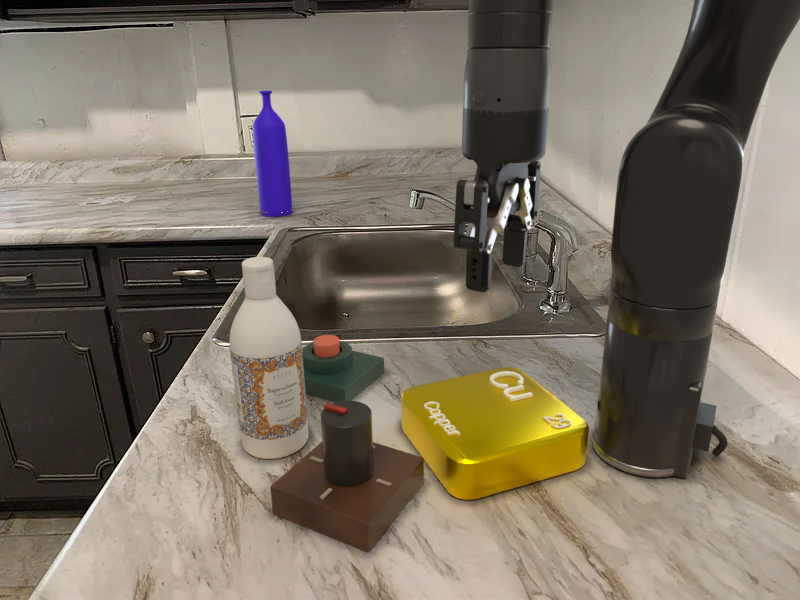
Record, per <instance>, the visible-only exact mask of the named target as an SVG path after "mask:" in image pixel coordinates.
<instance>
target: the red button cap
mask: <svg viewBox="0 0 800 600" xmlns="http://www.w3.org/2000/svg"><path fill="white" fill-rule="evenodd" d="M340 341H341V340H340V338H339V337H338V336H337V335H333V334H323V335H318V336H316V337H315V338H313V340H312V342H313V345H314V355H315V356H319V357H332V356H335V355H338V354H339V353H340Z"/></svg>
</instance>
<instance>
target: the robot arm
mask: <svg viewBox="0 0 800 600" xmlns="http://www.w3.org/2000/svg"><path fill="white" fill-rule="evenodd" d="M553 13H554V0H469V2H468V16H467V49H466V59H465V66H464V71H463V86H462V87H463V92H462V93H463V94H462V97H463V98H462V124H461V125H462V126H461V130H462V131H461V154H462V157H464V158H465V159H467V160H470V161H473V162H474V163H475V165H476V168H475V174H474V178H473V180H467V179H459V180H458V181H457V183H456V188H455V189H456V190H455V205H454V206H455V208H454V225H453V226H454V227H453V247H454V249H460V250H462V251H465V252H466V265H465V287H466V289H467V290H469V291H474V292H479V293H486V292H487V291H489V290H490V289H491V287H492V269H493V268H492V266H493V252H492V251H493V249H494V248H493V247H494V246H495V241H496V239H497V237H498V234H499V233H501V232H503V246H502V263H503V264H504V265H505V266H510V267H517V268H520V267H522V266H524V265H525V263H526V255H527V242H528V241H527V240H528V230H530V229H531V226H532V223H533V222H532V220H533V221H534V220H537V219H538V216H539V204H540V202H539V201H540V189H541V188H540V186H541V168H542V165H541V159H543V158H544V157H545V155H546V150H547V139H548V138H547V137H548V124H549V114H550V113H549V112H550V99H551V87H552V86H551V85H552V84H551V83H552V65H551V48H550V47H551V43H552V32H553V31H552V30H553ZM799 21H800V0H694V2H693V6H692V10H691V16H690V20H689V24H688V28H687V32H686V35H685V38H684V41H683V44H682V46H681V50H680V51H679V55H678V56H677V60H676V62H675V64H674V65H673V69H672V71H671V74H670V76H669V78H668V80H667V82H666V84H665V86H664V89H663V90H662V93H661V95H660V97H659V99H658V101H657V103H656V105H655V107H654V109H653V111H652V113H651V115H650V117H649V119H648V120H647V122H646V123H645V125H644V126H642V127H641V128H640V129H639V130H638V131H637V132H636V133H635V134H634V135H633V136H632V137H631V139H630V140H629V142H628V144H627V146H626V147H625V149H624V151H623V153H622V156H621V160H620V164H619V168H618V175H617V181H616V192H615V202H614V213H613V223H612V224H613V225H612V234H611V235H612V236H611V246H610V264H611V279H610V280H611V281H610V290H609V299H608V309H607V316H606V326H605V335H604V343H603V352H602V361H601V370H600V371H601V372H600V379H599V388H598V395H597V397H596V399H597V403H596V405H595V406H596V414H595V416H596V417H595V420H594V421H595V422H594V428H593V432H592V441H591V442H592V447H593V449H594V451H595V453H596V454H597V455H598V456H599V458H601V459H602V460H603V461H604V462H605V463H607V464H608V465H610V466H612V467H614V468H616V469H618V470H620V471H623V472H625V473H628V474H632V475H635V476H640V477H646V478H668V477H677V478H681V479H686V478H687V477H688V473H689V467H690V465H691V462H692V458H693V449H694V450H698V451H703V452H706V453H708V452H709V451H710V445H711V439H712V436H714V437H715V438H716V439H717V440H718V444H717V445H716V446H715V447H714V448H713V449H712V451H711V454H712V455H713V456H715V457H720V455H721V454H722V453H723V452H724V451H725V450H726V449H727V446H728V438H727V437H726V435H725V433H723V431H721V430H720V429H719V427H717V426H716V425H714V424H715V418H716V413H717V405H716V404H711V403H707V402H702V398H703V394H704V393H703V392H704V388H705V381H706V375H707V370H708V361H709V355H710V350H711V345H712V339H713V333H714V327H715V322H716V316H717V311H718V305H719V299H720V297H721V296H720V295H721V290H722V285H723V280H724V276H725V272H726V268H727V262H728V256H729V249H730V245H731V240H732V234H733V230H734V229H733V228H734V223H735V218H736V212H737V208H738V202H739V196H740V191H741V186H742V185H741V184H742V179H743V171H744V157H745V150H746V146H747V144H748V140H749V137H750V132H751V129H752V126H753V124H754V120H755V117H756V114H757V111H758V108H759V106H760V104H761V100H762V97H763V94H764V91H765V89H766V86H767V84H768V80H769V78H770V76H771V73H772V70H773V69H774V66H775V64H776V62H777V59H778V58H779V55H780V53H781V51H782V50H783V48H784V46H785V44H786V43H787V41H788V39H789V37H790V36H791V34H792V33H793V31H794V29H795V27H797V24H798V23H799ZM466 223H467V228H466Z"/></svg>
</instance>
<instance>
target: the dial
mask: <svg viewBox="0 0 800 600" xmlns="http://www.w3.org/2000/svg"><path fill="white" fill-rule="evenodd" d="M372 414H373V413H372V409H371V407H370V406H368V405H367V404H366V403H364V402H361V401H358V400H351V401H340V402H332V403H329V402H328V403H327V402H326V403H325V404H324V405H323V409H322V411H321V413H320V425H321V426H320V428H321V442H323V456H324V470H325V476H326V478H327V479H328V480H329V481H330V482H331V483H333V484H336V485H339V486H355V485H359V484H361V483H364V482H365V481H367V480H368V479H369V478H370V477H371V476H372V474H373V472H374V463H373V442H374V440H373V439H374V438H373V415H372Z"/></svg>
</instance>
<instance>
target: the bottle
mask: <svg viewBox="0 0 800 600" xmlns="http://www.w3.org/2000/svg"><path fill="white" fill-rule="evenodd" d="M258 93H259V94H260V95H261V100H262V108H261V110H260V112H259V114H258V115H257V116H256V117H255V119H254V121H253V123H252V143H253V155H254V166H255V176H256V185H257V195H258V204H259V210H260V213H261V215H262V216H263V217H267V218H278V217H286V216H289V215H291V214H292V212H293V200H292V199H293V198H292V184H291V183H292V182H291V169H290V159H289V147H288V139H287V130H286V125H285V122H284V120H283V119H282V118H281V116H280V115H279V114H277V112H276V111H275V110H274V109H273V107H272V100H271V94H273V90H259V91H258ZM291 209H292V210H291ZM261 211H263V212H268V213H263V212H261ZM287 211H288V212H287ZM281 212H283V213H281Z"/></svg>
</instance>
